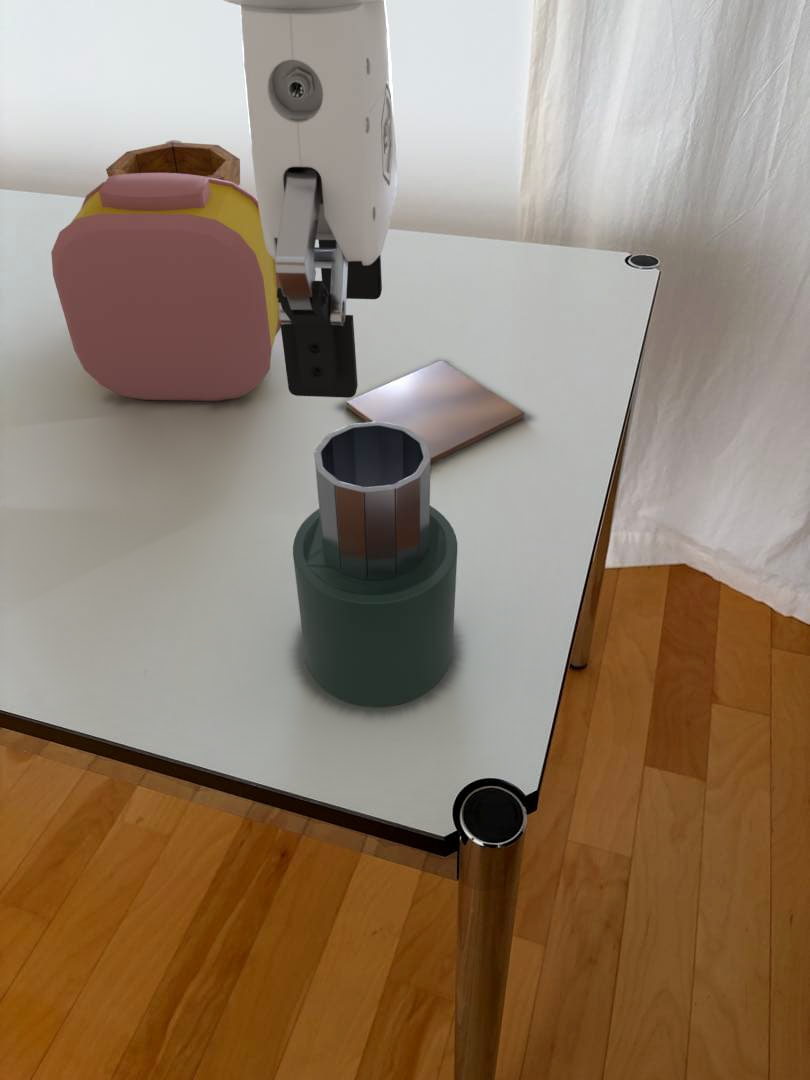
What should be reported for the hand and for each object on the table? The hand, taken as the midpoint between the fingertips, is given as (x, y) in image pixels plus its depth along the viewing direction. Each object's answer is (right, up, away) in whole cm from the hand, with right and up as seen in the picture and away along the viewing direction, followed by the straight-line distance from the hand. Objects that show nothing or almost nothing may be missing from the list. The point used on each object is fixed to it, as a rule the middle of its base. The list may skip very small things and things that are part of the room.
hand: (339, 341), depth 46 cm
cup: (+1, -10, +11) cm, 15 cm away
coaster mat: (+6, +2, +39) cm, 40 cm away
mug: (-21, +19, +58) cm, 65 cm away
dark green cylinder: (+1, -18, +17) cm, 25 cm away
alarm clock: (-18, +6, +44) cm, 48 cm away
